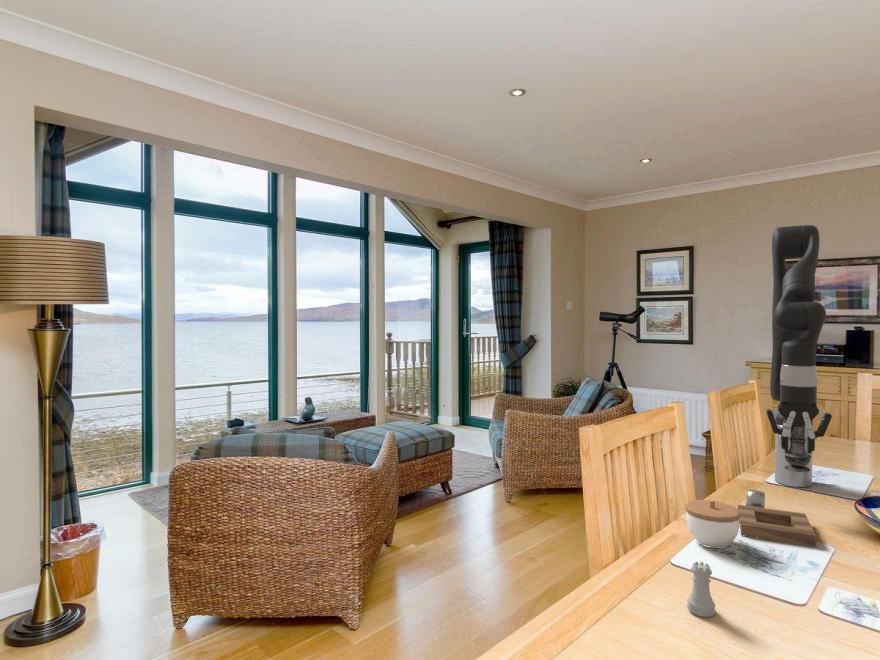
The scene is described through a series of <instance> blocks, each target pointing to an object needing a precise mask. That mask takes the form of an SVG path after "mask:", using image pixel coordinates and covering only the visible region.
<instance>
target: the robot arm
mask: <svg viewBox="0 0 880 660" xmlns="http://www.w3.org/2000/svg"><path fill="white" fill-rule="evenodd" d="M771 237H772V238H771V255H772V257H771V258H772V276H773V278H772V279H773V288H772V289H773V290H772V308H771V311H772V312H771V313H772V314H771V318H772V319H771V327H772V328H771V332H772V333H771V334H772V335H771V336H772V351H771V352H772V354H771V368H770V380H769V381H770V382H769V392H770V396H771V398H772V400H774V401H776V402H777V401H778V402H779V404H778V406H777V407H774V408H767V409H765V413H766V416H767V418H768V421H769V423H770V424H769V425H770V426H771V430H772V431H773V433H774V434H775V442H774V445H775V446H774V450H775V451H774V481H775V482H776V483H778V484H780V485H781V484H782V485H784V486H788V487H795V488H808V487H807V486H810V487H811V485H812V486H813V452H815V447H816V445H815V444H816V439H818V438H823V437H824V436H825V434H826V432H827V429H828V427H829V425H830V422H831V420H832V417H833V415H832V414H831V413H830V412H829V411H822V410H820V409H819V408H818V405H817V403H818V401H817V399H818V398H817V397H818V391H817V389H818V383H819V381H818V372H817V347H818V342H819V337H820V334H821V332H822V329H823V327H824V324H825V321H826V317H827V311H826V308H825V306H824V305H823V304H822V303H821V302H817V301H815V300H816V270H817V266H818V260H819V252H820V240H821V239H820V233H819V229H818V227H817V226H815V225H813V224H804V225H801V224H800V225H791V226H789V225H788V226H780V227H776V228H775V229H774V230H773V232H772V236H771ZM796 259H797V260H798V259H799V260H798V261H797V262H796V263H794V265H793V266H792V267H790V268H789V269H788V268H787V266H786V260H796ZM817 416H818V418H819V420H820V422H819V425H818V427H817V429H816V430H815V431H814V423H813V422H814V419H815V418H816V417H817ZM795 424H800V425H802V426H803V427H804V428H805V439H806V441H805V451H806V453H807V454H809V455H811V456H812V458H810V462H809V463H808V464H807V465H805V467H807V468H809V469H810V471H809V472H795V471H791V470H788V469H786V468H785V466H786V465H789V464H790V463H788V462H787V461H786V459H785V455H784V454H783V453H784V452H788V451H789V449H790V440H789V438H791V426H793V425H795Z"/></svg>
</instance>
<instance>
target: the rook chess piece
mask: <svg viewBox="0 0 880 660" xmlns="http://www.w3.org/2000/svg"><path fill="white" fill-rule="evenodd" d="M699 563H700V564H699ZM692 565H693V566H691V567H690V570H691V572H692V573H693V575H692V576H691V577H692V578H691V579H692V580H693V585H692V586H693V587H692V591H691V593H690V594H689V596H688V597H687V603H686V608H687V609H688V610H689V612H690V613H691V614H693V615H695V616H697V617H700V618H712V617H713V616H714V615H716V609H715V608H716V603H715V601H714V600H713V597H712V596H711V590H710V589H711V588H710V583H711V579H710V576H711V575H712V574H713V571H712V570H711V567H710V565H709V563H707V562H705V563H704V561H700V562H699V561H695V562H693V564H692Z"/></svg>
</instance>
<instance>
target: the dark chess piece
mask: <svg viewBox="0 0 880 660" xmlns="http://www.w3.org/2000/svg"><path fill="white" fill-rule="evenodd" d="M789 440H790V449H789V451H788V452H784V453H783V454H784V455H785V459H786V461H787V462H788V463H790V464H789V465H786V466H785V468H786V469H788V470H791V471H795V472H809V471H810V469H809V468H807V467H805V465H807V464H808V463H809V462H810V458H812V459H813V455H812V456H811V455H809V454H807V453H806V451H805V441H806V439H805V428H804V427H803V426H802V425H800V424H795V425H793V426H791V438H789Z"/></svg>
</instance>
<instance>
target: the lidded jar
mask: <svg viewBox="0 0 880 660" xmlns="http://www.w3.org/2000/svg"><path fill="white" fill-rule="evenodd" d="M685 517H686V524H687V528H688V531H689V533H690V534H691V535H692V536H693V538H694V539H695V540H696V542H697V541H698V542H699V543H701V544H703V545H706V546H710V547H716V548H723V549H725V548H724V547H726V548H727V547H729V545H730V544H732V543H733V542H734V541H735V540H736V538H737V536H738V533H739V531H740V525H739V518H740V511H739V510H738V507H735V506H733V505H731V504H729V503H725V502H722V501H718V500H717V501H716V500H713V499H710V500H708V499H694V500H689V501H688V502H686V504H685ZM698 542H697V543H698ZM699 543H698V544H699ZM701 544H700V545H701ZM703 545H702V546H703Z"/></svg>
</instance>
